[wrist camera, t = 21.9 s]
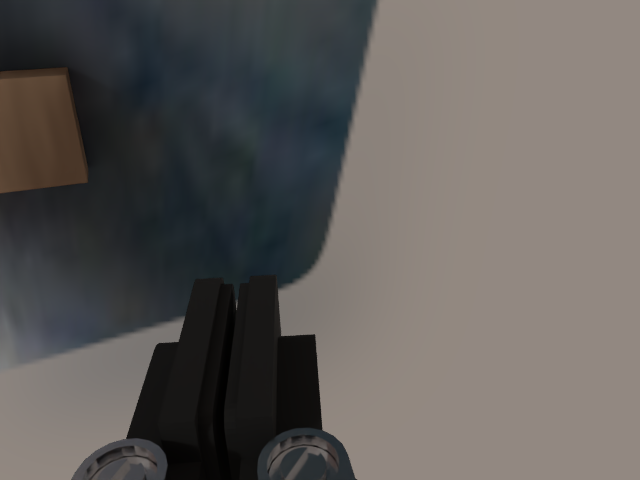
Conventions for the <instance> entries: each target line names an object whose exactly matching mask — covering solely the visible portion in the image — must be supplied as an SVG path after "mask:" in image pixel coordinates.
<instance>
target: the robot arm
mask: <svg viewBox="0 0 640 480" xmlns="http://www.w3.org/2000/svg"><path fill="white" fill-rule="evenodd" d="M321 419H322V418H321V405H320V392H319V379H318V367H317V353H316V341H315V334H314V335H296V336H281V327H280V314H279V301H278V287H277V277H276V275H265V276H251V277H250V282H249V283H243V284H240V289H239V297H238V305H237V310H236V302H235V293H234V287H233V284H224V281H223V278H208V279H196V280H195V282H194V286H193V289H192V293H191V297H190V301H189V305H188V309H187V312H186V316H185V320H184V324H183V328H182V331H181V335H180V339H179V342H172V343H159V344H157V345H156V347H155V350H154V353H153V356H152V359H151V362H150V365H149V368H148V371H147V374H146V378H145V381H144V384H143V387H142V390H141V393H140V396H139V400H138V403H137V406H136V409H135V412H134V415H133V418H132V422H131V425H130V428H129V431H128V435H127V437H126V439H123V440H120V441H116V442H113V443H110V444H108V445H106V446H104V447H102V448H100V449H98V450H97V451H95V452H94V453H93V454H91V455H90V456H89V457H88V458H86V459H85V460H84V461H83V463H82V464H81V465H80V467H79V468H78V469H77V471H76V472H75V474H74V475H73V477H72V479H71V480H357V479H355V476H354V473H353V470H352V467H351V463H350V460H349V457H348V454H347V452H346V450H345V448H344V446H343V444H342V443H341V442H340V441H338V440H337V439H336V438H335V437H334V436H333V435H331V434H329V433H327V432H325V431H323V430H322V420H321Z"/></svg>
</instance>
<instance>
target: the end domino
mask: <svg viewBox="0 0 640 480" xmlns="http://www.w3.org/2000/svg"><path fill="white" fill-rule="evenodd" d="M79 183H88V166H87V161H86V156H85V151H84V146H83V141H82V136H81V131H80V127H79V122H78V117H77V112H76V107H75V102H74V97H73V93H72V88H71V83H70V78H69V73H68V68H67V67H61V68H45V69H30V70H14V71H0V193H6V192H14V191H22V190H30V189H39V188H47V187H55V186H63V185H71V184H79Z"/></svg>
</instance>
